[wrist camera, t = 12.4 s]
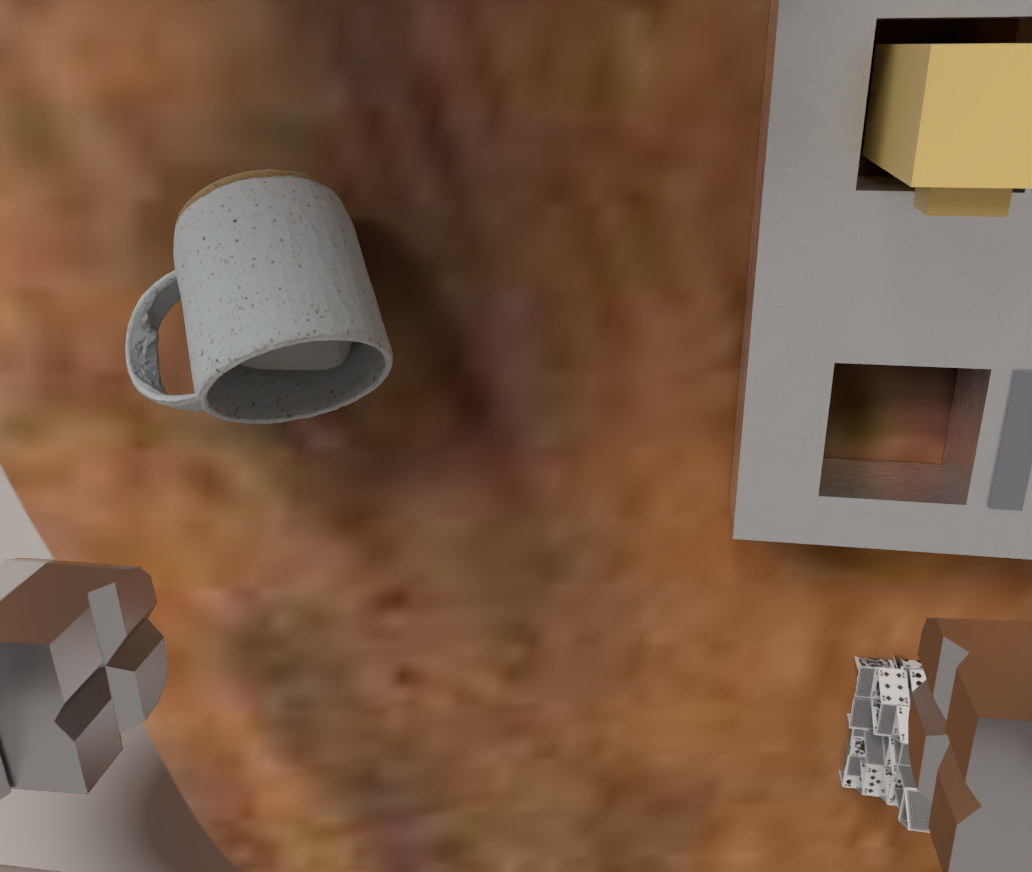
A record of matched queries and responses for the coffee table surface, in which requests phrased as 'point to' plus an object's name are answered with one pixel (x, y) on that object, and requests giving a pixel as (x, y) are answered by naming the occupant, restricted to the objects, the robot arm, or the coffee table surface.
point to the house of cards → (885, 738)
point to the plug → (953, 123)
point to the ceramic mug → (265, 303)
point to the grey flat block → (875, 311)
